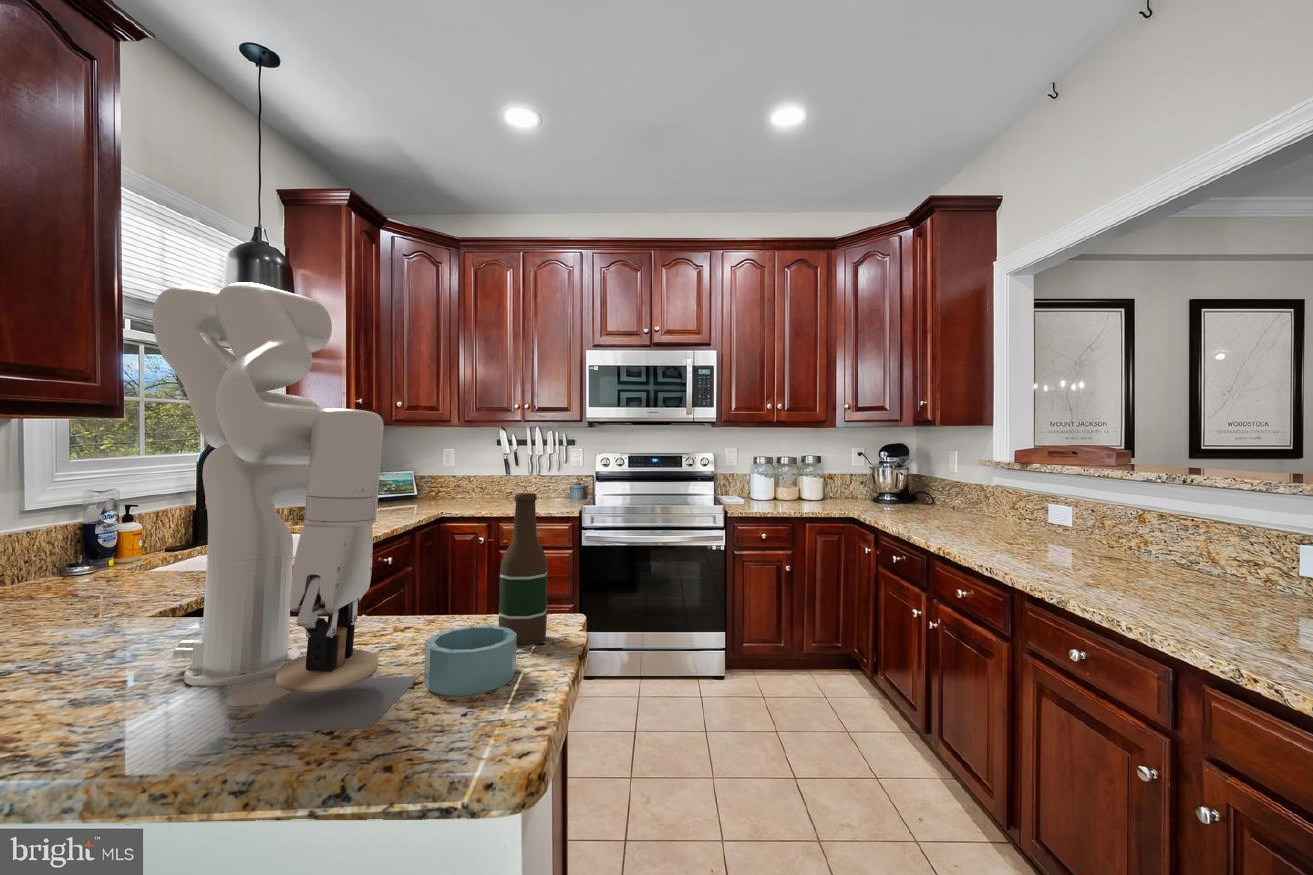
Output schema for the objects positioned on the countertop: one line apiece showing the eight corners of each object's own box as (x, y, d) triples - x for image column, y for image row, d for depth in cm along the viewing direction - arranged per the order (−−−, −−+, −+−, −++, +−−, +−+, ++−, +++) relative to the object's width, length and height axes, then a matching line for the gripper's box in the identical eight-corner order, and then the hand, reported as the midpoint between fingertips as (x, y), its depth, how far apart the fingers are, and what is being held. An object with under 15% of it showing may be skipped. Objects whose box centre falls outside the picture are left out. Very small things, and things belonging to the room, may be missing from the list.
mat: (229, 736, 54) (229, 732, 54) (308, 682, 68) (308, 679, 68) (370, 731, 55) (370, 727, 55) (419, 679, 69) (419, 675, 69)
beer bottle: (555, 636, 87) (558, 492, 89) (530, 651, 80) (533, 494, 81) (516, 631, 90) (519, 491, 91) (487, 645, 82) (491, 493, 84)
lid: (253, 691, 57) (257, 644, 57) (308, 654, 67) (311, 615, 67) (353, 692, 58) (357, 647, 58) (391, 656, 68) (394, 617, 68)
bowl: (411, 700, 63) (413, 653, 63) (441, 666, 74) (442, 626, 74) (505, 697, 64) (506, 651, 64) (520, 663, 75) (521, 624, 75)
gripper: (344, 502, 71) (333, 638, 70) (264, 517, 55) (249, 694, 54) (401, 505, 72) (390, 640, 71) (338, 520, 55) (324, 695, 55)
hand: (329, 661), depth 63 cm, fingers closed on lid, 3 cm apart
